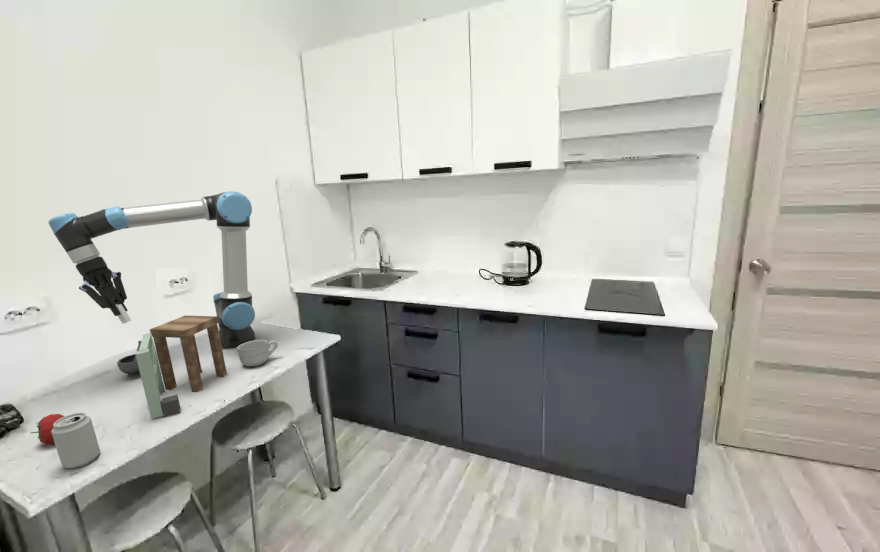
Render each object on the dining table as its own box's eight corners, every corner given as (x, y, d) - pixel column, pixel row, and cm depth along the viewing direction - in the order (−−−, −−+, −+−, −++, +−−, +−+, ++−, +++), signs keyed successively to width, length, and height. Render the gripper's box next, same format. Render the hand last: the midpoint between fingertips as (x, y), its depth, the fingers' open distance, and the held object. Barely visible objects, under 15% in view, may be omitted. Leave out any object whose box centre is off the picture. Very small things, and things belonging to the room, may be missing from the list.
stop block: (165, 411, 126) (162, 398, 125) (180, 407, 128) (177, 394, 127) (164, 417, 122) (161, 403, 121) (180, 412, 124) (177, 399, 123)
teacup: (237, 371, 151) (234, 351, 149) (243, 359, 161) (239, 340, 159) (278, 365, 154) (274, 345, 152) (280, 354, 164) (277, 335, 162)
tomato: (68, 405, 116) (30, 413, 110) (72, 429, 112) (33, 438, 106) (65, 420, 119) (28, 429, 113) (69, 444, 116) (31, 454, 110)
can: (103, 458, 105) (91, 416, 102) (65, 475, 99) (51, 431, 97) (97, 447, 110) (86, 407, 107) (60, 462, 104) (47, 420, 102)
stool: (196, 371, 153) (184, 315, 148) (228, 373, 149) (217, 316, 144) (163, 390, 140) (149, 329, 135) (197, 393, 136) (184, 330, 131)
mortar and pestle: (136, 381, 147) (128, 350, 145) (115, 381, 149) (106, 350, 146) (162, 367, 158) (155, 338, 155) (142, 367, 160) (134, 338, 157)
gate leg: (155, 392, 138) (141, 334, 133) (166, 389, 139) (152, 332, 135) (151, 419, 121) (135, 354, 117) (163, 415, 123) (148, 351, 118)
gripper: (100, 256, 143) (137, 315, 149) (59, 269, 131) (101, 333, 138) (114, 250, 140) (150, 311, 146) (73, 264, 128) (115, 329, 135)
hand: (127, 322), depth 142 cm, fingers closed
